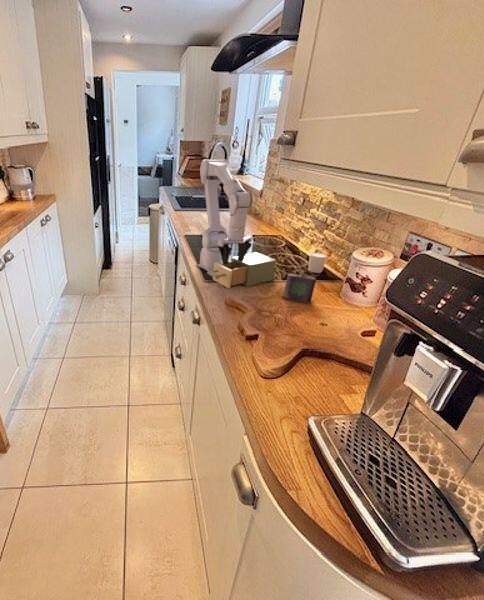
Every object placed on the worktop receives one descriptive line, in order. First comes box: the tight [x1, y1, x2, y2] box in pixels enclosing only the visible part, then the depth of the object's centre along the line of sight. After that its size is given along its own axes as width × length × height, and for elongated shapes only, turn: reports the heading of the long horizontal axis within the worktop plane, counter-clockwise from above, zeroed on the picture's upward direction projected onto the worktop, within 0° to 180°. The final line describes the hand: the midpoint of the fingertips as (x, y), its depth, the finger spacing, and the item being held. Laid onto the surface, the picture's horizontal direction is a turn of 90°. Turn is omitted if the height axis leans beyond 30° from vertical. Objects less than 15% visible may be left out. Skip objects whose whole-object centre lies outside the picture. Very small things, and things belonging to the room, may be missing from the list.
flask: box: [282, 270, 317, 304], centre depth 113 cm, size 9×3×11 cm, turn 65°
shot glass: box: [307, 252, 329, 274], centre depth 140 cm, size 7×7×7 cm
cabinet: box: [230, 252, 277, 287], centre depth 130 cm, size 14×11×9 cm
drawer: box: [206, 260, 249, 289], centre depth 125 cm, size 17×9×7 cm, turn 119°
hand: (232, 262), depth 123 cm, fingers open, 7 cm apart
